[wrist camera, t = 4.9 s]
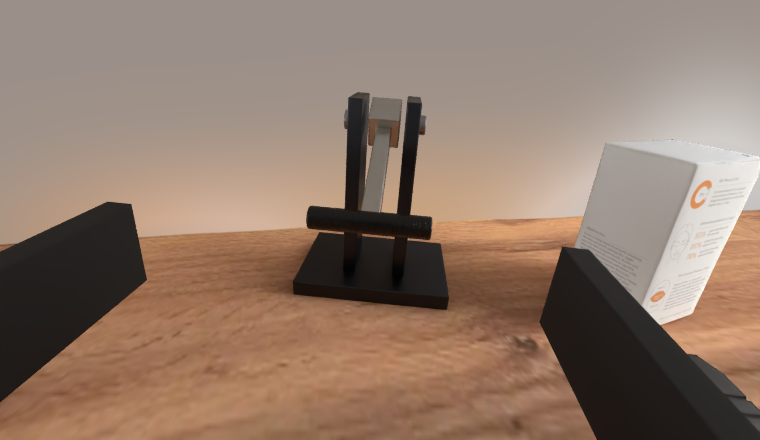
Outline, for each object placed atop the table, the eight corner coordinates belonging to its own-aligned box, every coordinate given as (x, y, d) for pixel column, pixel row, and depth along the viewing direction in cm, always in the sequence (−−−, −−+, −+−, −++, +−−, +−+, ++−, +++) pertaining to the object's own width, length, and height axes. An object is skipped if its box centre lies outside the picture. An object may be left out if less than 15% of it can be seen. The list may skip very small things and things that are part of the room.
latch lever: (428, 250, 22) (433, 223, 20) (308, 238, 22) (303, 211, 20) (430, 128, 30) (434, 101, 28) (342, 121, 30) (341, 94, 28)
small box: (620, 275, 35) (672, 137, 30) (693, 316, 30) (771, 157, 25) (557, 290, 32) (603, 140, 27) (627, 339, 27) (701, 163, 22)
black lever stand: (446, 310, 29) (480, 111, 23) (293, 294, 29) (286, 96, 23) (439, 254, 37) (462, 97, 31) (319, 242, 38) (319, 86, 32)
